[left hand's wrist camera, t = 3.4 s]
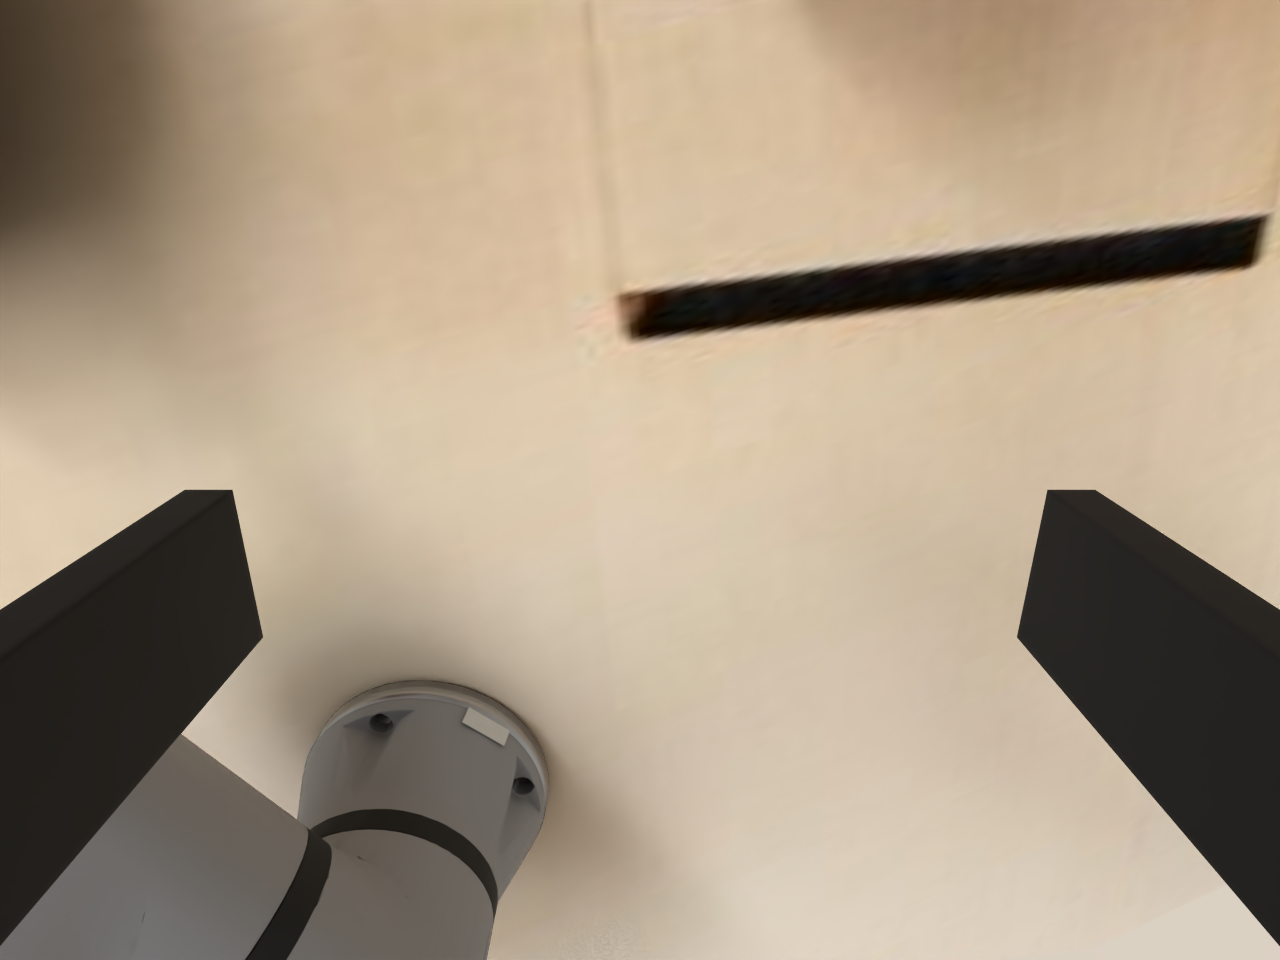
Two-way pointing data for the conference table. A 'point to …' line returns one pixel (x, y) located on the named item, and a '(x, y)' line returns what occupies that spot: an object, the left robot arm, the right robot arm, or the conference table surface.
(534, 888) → the conference table surface
